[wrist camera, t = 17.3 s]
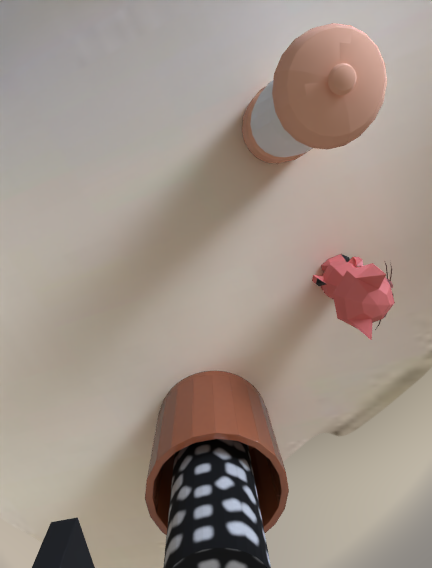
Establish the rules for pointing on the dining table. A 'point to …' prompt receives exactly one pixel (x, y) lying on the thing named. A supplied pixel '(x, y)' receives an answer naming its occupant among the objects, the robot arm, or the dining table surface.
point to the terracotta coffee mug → (216, 425)
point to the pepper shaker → (317, 95)
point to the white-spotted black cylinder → (214, 509)
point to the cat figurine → (356, 291)
